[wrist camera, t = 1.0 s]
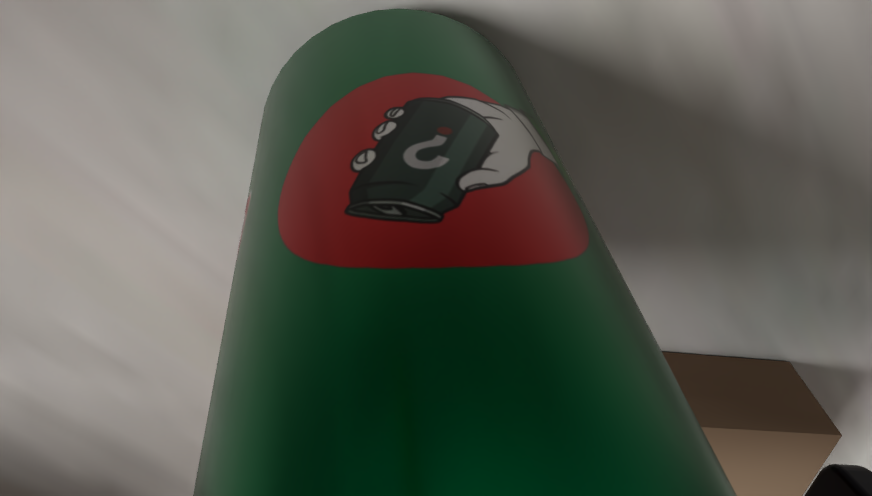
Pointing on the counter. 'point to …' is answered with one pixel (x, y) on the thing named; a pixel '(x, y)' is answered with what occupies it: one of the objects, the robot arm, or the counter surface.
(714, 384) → the walnut base
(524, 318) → the soda can
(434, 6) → the counter surface
